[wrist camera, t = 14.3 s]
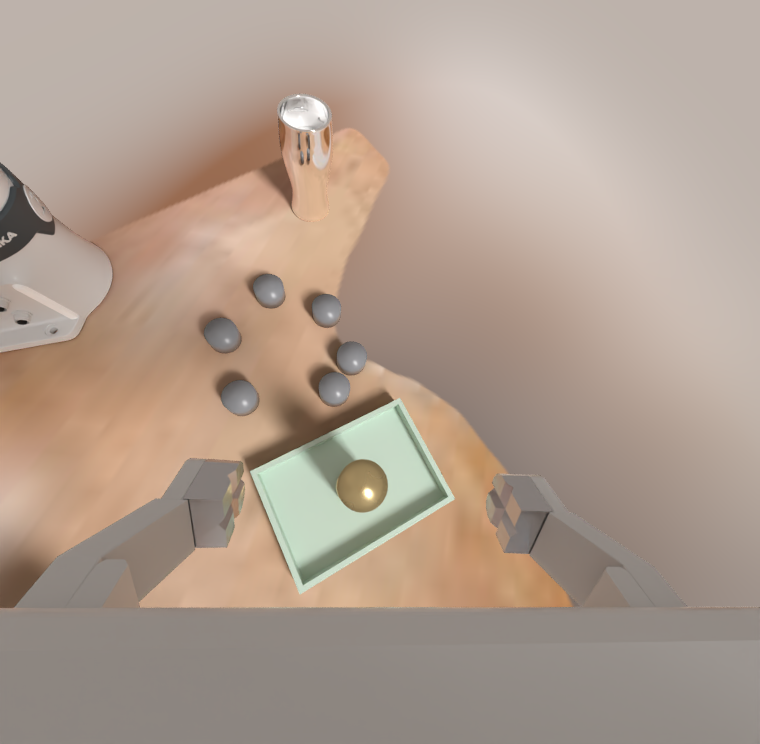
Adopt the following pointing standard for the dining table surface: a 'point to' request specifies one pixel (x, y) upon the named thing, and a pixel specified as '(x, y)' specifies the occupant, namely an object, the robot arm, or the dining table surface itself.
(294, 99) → the beer glass
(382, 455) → the tray
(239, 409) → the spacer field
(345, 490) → the gold metal cylinder
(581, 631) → the robot arm
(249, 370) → the dining table surface
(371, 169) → the dining table surface
